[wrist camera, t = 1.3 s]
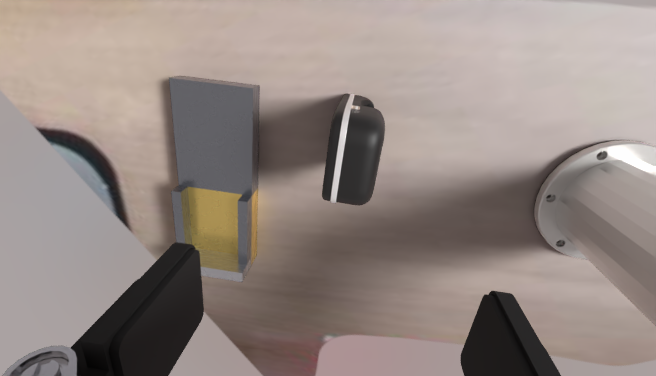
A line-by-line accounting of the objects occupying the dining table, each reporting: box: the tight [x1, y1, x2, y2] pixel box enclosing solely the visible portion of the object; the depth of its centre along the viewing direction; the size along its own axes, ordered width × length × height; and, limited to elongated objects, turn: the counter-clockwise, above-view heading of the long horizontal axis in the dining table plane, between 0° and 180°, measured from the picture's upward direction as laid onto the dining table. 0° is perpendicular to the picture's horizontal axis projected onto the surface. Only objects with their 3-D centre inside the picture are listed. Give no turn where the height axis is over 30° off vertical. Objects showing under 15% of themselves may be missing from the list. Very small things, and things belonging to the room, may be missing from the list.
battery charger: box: [322, 94, 385, 205], centre depth 27 cm, size 7×4×11 cm, turn 173°
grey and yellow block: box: [169, 76, 260, 282], centre depth 34 cm, size 8×20×5 cm, turn 174°
